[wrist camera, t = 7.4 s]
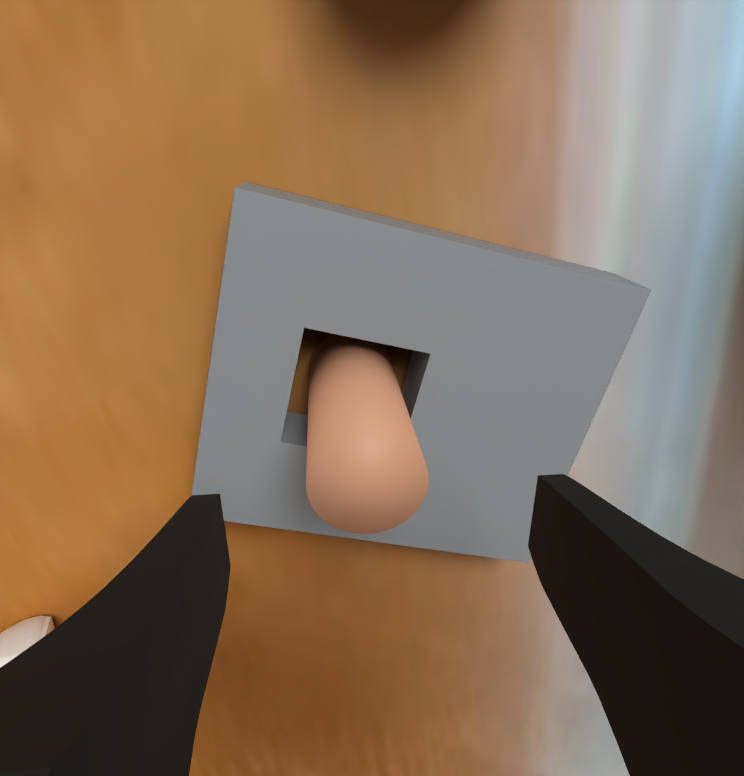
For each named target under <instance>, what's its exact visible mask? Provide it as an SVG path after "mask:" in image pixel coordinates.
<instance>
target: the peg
mask: <svg viewBox="0 0 744 776" xmlns="http://www.w3.org/2000/svg"><path fill="white" fill-rule="evenodd" d="M428 480H429V476H428V470H427V466H426V463H425V460H424V457H423V454H422V451H421V448H420V445H419V442H418V439H417V437H416V434H415V431H414V428H413V425H412V422H411V419H410V416H409V413H408V410H407V407H406V404H405V401H404V399H403V396H402V393H401V390H400V387H399V384H398V381H397V378H396V375H395V372H394V369H393V366H392V363H391V361H390V358H389V355H388V352H387V350H386V349H385V347H384V346H383V344H381V343H376V342H371V341H366V340H362V339H357V338H352V337H347V336H342V335H337V334H331V335H329V336H328V337H326V338H325V339H323V340H322V341H321V342H320V343H319V344H318V345H317V347H316V348H315V350H314V352H313V353H312V356H311V359H310V364H309V394H308V431H307V468H306V492H307V496H308V500H309V502H310V505H311V506H312V508H313V510H314V511H315V512H316V514H317V515H318V516H319V517H320V518H321V519H322V520H323V521H325V522H326V523H327V524H329V525H331V526H333V527H334V528H336V529H339V530H342V531H345V532H349V533H355V534H373V533H378V532H383V531H386V530H389V529H391V528H394V527H396V526H398V525H400V524H401V523H403V522H404V521H406V520H407V519H408V518H410V517H411V516H412V515H413V514H414V513H415V512H416V511H417V509H418V508H419V507H420V505H421V504H422V502H423V500H424V498H425V495H426V493H427V489H428Z"/></svg>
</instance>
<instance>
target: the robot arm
mask: <svg viewBox="0 0 744 776" xmlns="http://www.w3.org/2000/svg"><path fill="white" fill-rule="evenodd" d="M528 548H529V551H530V554H531V557H532V559H533V562H534V565H535V568H536V571H537V573H538V576H539V579H540V581H541V584H542V586H543V588H544V590H545V592H546V594H547V596H548V598H549V600H550V602H551V604H552V606H553V608H554V610H555V612H556V614H557V616H558V618H559V620H560V622H561V623H562V625H563V627H564V629H565V631H566V633H567V635H568V637H569V639H570V641H571V642H572V644H573V646H574V648H575V650H576V652H577V654H578V656H579V658H580V660H581V662H582V663H583V665H584V667H585V669H586V671H587V673H588V675H589V677H590V679H591V681H592V683H593V685H594V688H595V690H596V692H597V694H598V696H599V699H600V701H601V703H602V706H603V708H604V711H605V713H606V716H607V718H608V721H609V723H610V726H611V728H612V731H613V733H614V736H615V738H616V741H617V743H618V746H619V748H620V751H621V754H622V756H623V759H624V762H625V764H626V767H627V769H628V772H629V775H630V776H744V579H741V578H739V577H737V576H735V575H733V574H731V573H729V572H727V571H725V570H723V569H721V568H719V567H717V566H715V565H713V564H711V563H709V562H707V561H705V560H703V559H701V558H699V557H697V556H695V555H694V554H692V553H690V552H688V551H686V550H684V549H683V548H681V547H679V546H678V545H676V544H674V543H672V542H671V541H669V540H667V539H665V538H664V537H662V536H660V535H659V534H657V533H655V532H654V531H652V530H650V529H649V528H647V527H646V526H644V525H642V524H641V523H639V522H638V521H636V520H634V519H633V518H631V517H630V516H628V515H627V514H625V513H624V512H622V511H620V510H619V509H617V508H616V507H614V506H613V505H611V504H610V503H608V502H607V501H605V500H604V499H602V498H601V497H599V496H598V495H596V494H595V493H593V492H592V491H590V490H589V489H587V488H586V487H584V486H583V485H581V484H580V483H578V482H576V481H575V480H573V479H571V478H570V477H568V476H566V475H565V474H554V475H538V478H537V485H536V492H535V499H534V506H533V513H532V520H531V527H530V535H529V542H528ZM229 575H230V559H229V553H228V546H227V539H226V532H225V525H224V518H223V511H222V504H221V497H220V494H206V495H192V496H191V497H190V498H189V499H188V500H187V501H186V502H185V503H184V504H183V505H182V506H181V507H180V509H179V510H178V511H177V512H176V513H175V514H174V515H173V517H172V518H171V519H170V520H169V521H168V522H167V523H166V524H165V526H164V527H163V528H162V529H161V530H160V531H159V532H158V533H157V534H156V536H155V537H154V538H153V539H152V540H151V541H150V542H149V543H148V544H147V545H146V546H145V547H144V548H143V549H142V551H141V552H140V553H139V554H138V555H137V556H136V557H135V558H134V559H133V560H132V561H131V562H130V563H129V564H128V565H127V566H126V567H125V568H124V569H123V570H122V571H121V572H120V573H119V574H118V575H117V576H116V577H115V578H114V579H113V580H112V581H111V582H109V583H108V584H107V585H106V586H105V587H104V588H103V589H102V590H101V591H100V592H99V593H98V594H97V595H95V596H94V597H93V598H92V599H91V600H90V601H89V602H87V603H86V604H85V605H84V606H83V607H81V608H80V609H79V610H78V611H76V612H75V613H74V614H73V615H72V616H70V617H69V618H68V619H67V620H65V621H64V622H63V623H62V624H60V625H59V626H58V627H57V628H55V629H54V630H53V631H51V632H50V633H48V634H47V635H46V636H44V637H43V638H41V639H40V640H39V641H37V642H36V643H35V644H33V645H32V646H30V647H29V648H28V649H26V650H25V651H23V652H22V653H21V654H19V655H18V656H16V657H15V658H14V659H12V660H11V661H9V662H8V663H7V664H5V665H4V666H2V667H1V668H0V776H189V771H190V764H191V758H192V751H193V745H194V738H195V732H196V727H197V722H198V718H199V713H200V708H201V704H202V700H203V696H204V692H205V688H206V684H207V680H208V676H209V673H210V669H211V665H212V661H213V657H214V653H215V649H216V645H217V641H218V637H219V633H220V629H221V625H222V621H223V616H224V612H225V607H226V600H227V592H228V584H229Z"/></svg>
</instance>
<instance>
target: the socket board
mask: <svg viewBox="0 0 744 776" xmlns="http://www.w3.org/2000/svg"><path fill="white" fill-rule="evenodd" d="M650 292H651V290H650V289H648V288H645V287H643V286H641V285H639V284H636V283H634V282H632V281H630V280H627V279H625V278H623V277H621V276H618V275H616V274H613V273H609V272H605V271H601V270H597V269H593V268H589V267H585V266H581V265H577V264H573V263H569V262H565V261H561V260H557V259H553V258H549V257H545V256H541V255H537V254H533V253H529V252H525V251H521V250H517V249H513V248H509V247H505V246H501V245H497V244H493V243H489V242H485V241H481V240H477V239H473V238H469V237H465V236H461V235H457V234H453V233H449V232H445V231H441V230H437V229H433V228H429V227H425V226H421V225H417V224H413V223H409V222H405V221H401V220H397V219H393V218H389V217H385V216H381V215H377V214H373V213H369V212H365V211H361V210H357V209H353V208H349V207H345V206H341V205H337V204H333V203H329V202H325V201H321V200H317V199H313V198H309V197H305V196H301V195H296V194H292V193H288V192H284V191H280V190H276V189H272V188H268V187H264V186H260V185H256V184H252V183H248V182H243V183H242V184H240V185H238V186H237V187H235V191H234V198H233V205H232V212H231V219H230V226H229V233H228V240H227V247H226V254H225V262H224V269H223V276H222V283H221V290H220V297H219V304H218V311H217V318H216V325H215V332H214V339H213V346H212V354H211V361H210V368H209V375H208V382H207V389H206V396H205V403H204V410H203V417H202V424H201V431H200V439H199V446H198V453H197V460H196V467H195V474H194V481H193V488H192V495H206V494H220V497H221V504H222V511H223V518H224V521H227V522H234V523H242V524H249V525H256V526H264V527H271V528H278V529H286V530H293V531H300V532H308V533H315V534H322V535H330V536H337V537H344V538H351V539H359V540H366V541H373V542H381V543H388V544H395V545H403V546H410V547H417V548H425V549H432V550H439V551H447V552H454V553H461V554H469V555H476V556H483V557H491V558H498V559H505V560H512V561H520V562H527V563H528V562H529V560H530V558H531V554H530V551H529V548H528V542H529V535H530V527H531V520H532V513H533V506H534V499H535V492H536V485H537V478H538V475H554V474H565V475H566V476H568V473H569V471H570V469H571V467H572V465H573V462H574V460H575V458H576V456H577V453H578V451H579V449H580V447H581V445H582V442H583V440H584V438H585V436H586V433H587V431H588V429H589V427H590V425H591V422H592V420H593V418H594V416H595V413H596V411H597V409H598V407H599V405H600V402H601V400H602V398H603V396H604V394H605V391H606V389H607V387H608V385H609V382H610V380H611V378H612V376H613V374H614V371H615V369H616V367H617V365H618V362H619V360H620V358H621V356H622V354H623V351H624V349H625V347H626V345H627V343H628V340H629V338H630V336H631V334H632V331H633V329H634V327H635V325H636V323H637V320H638V318H639V316H640V314H641V311H642V309H643V307H644V305H645V303H646V300H647V298H648V296H649V294H650ZM304 328H308V329H313V330H318V331H323V332H327V333H332V334H337V335H342V336H347V337H352V338H357V339H362V340H366V341H371V342H376V343H381V344H386V345H391V346H396V347H400V348H405V349H410V350H413V351H412V354H411V357H410V361H409V364H408V368H407V371H406V374H405V378H404V381H403V385H402V388H401V393H402V396H403V399H404V401H405V404H406V407H407V410H408V413H409V416H410V419H411V422H412V425H413V428H414V431H415V434H416V437H417V439H418V442H419V445H420V448H421V451H422V454H423V457H424V460H425V463H426V466H427V470H428V476H429V480H428V489H427V493H426V495H425V498H424V500H423V502H422V504H421V505H420V507H419V508H418V509H417V511H416V512H415V513H414V514H413V515H412V516H411V517H410V518H408V519H407V520H406V521H404V522H403V523H401V524H400V525H398V526H396V527H394V528H391V529H389V530H386V531H383V532H378V533H373V534H355V533H349V532H345V531H342V530H339V529H336V528H334V527H333V526H331V525H329V524H327V523H326V522H325V521H323V520H322V519H321V518H320V517H319V516H318V515H317V514H316V512H315V511H314V510H313V508H312V506H311V505H310V502H309V500H308V496H307V492H306V468H307V431H308V415H304V414H298V413H293V412H287V408H288V403H289V398H290V394H291V389H292V384H293V379H294V374H295V369H296V365H297V360H298V355H299V350H300V345H301V340H302V336H303V331H304ZM192 495H191V496H192Z"/></svg>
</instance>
